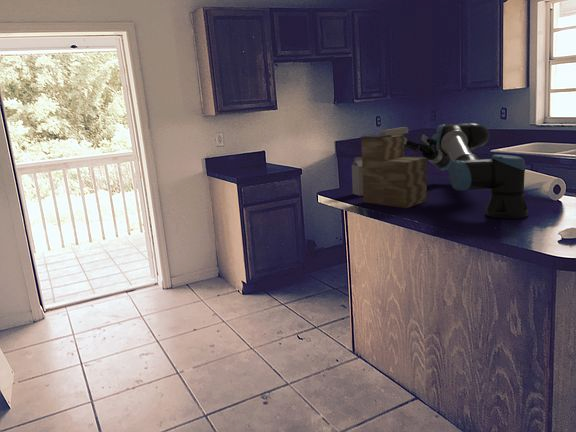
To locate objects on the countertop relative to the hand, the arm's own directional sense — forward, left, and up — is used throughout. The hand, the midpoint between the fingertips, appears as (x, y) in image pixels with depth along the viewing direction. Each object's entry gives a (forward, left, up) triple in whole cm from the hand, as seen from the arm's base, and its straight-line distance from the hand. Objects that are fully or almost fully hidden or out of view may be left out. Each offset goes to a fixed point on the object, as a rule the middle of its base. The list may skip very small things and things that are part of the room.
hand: (410, 136), depth 244 cm
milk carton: (+5, +24, -28) cm, 37 cm away
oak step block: (-19, +14, -28) cm, 36 cm away
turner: (-11, +15, +2) cm, 19 cm away
